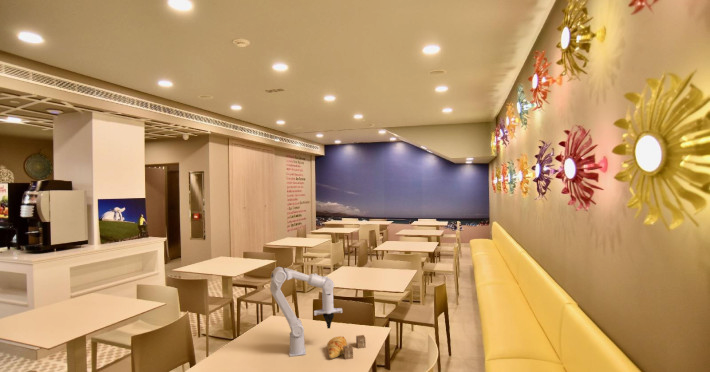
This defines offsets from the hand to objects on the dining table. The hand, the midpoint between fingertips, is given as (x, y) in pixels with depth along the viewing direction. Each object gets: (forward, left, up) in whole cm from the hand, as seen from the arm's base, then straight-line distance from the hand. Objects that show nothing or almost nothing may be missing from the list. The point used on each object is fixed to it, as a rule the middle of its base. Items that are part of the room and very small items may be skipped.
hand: (328, 327), depth 190 cm
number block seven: (+3, +16, -10) cm, 19 cm away
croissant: (+5, +3, -11) cm, 12 cm away
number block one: (+13, +8, -10) cm, 18 cm away
